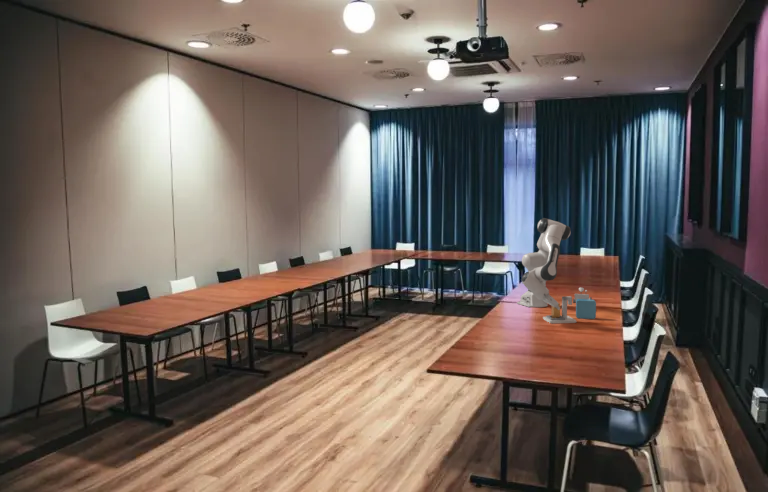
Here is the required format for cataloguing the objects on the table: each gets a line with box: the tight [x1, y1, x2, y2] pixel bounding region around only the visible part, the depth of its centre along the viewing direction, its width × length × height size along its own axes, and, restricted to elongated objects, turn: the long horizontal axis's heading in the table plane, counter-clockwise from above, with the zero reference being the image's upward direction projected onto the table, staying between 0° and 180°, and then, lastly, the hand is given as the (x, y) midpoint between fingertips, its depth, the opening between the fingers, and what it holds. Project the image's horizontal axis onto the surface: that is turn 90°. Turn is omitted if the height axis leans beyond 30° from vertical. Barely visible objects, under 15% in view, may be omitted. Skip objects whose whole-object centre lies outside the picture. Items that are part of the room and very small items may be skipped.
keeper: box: [542, 295, 577, 324], centre depth 355 cm, size 17×13×16 cm
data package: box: [575, 299, 597, 320], centre depth 362 cm, size 12×4×12 cm, turn 73°
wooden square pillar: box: [550, 302, 561, 318], centre depth 355 cm, size 4×4×10 cm
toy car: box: [572, 287, 593, 304], centre depth 418 cm, size 18×10×12 cm
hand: (556, 307), depth 355 cm, fingers open, 8 cm apart
